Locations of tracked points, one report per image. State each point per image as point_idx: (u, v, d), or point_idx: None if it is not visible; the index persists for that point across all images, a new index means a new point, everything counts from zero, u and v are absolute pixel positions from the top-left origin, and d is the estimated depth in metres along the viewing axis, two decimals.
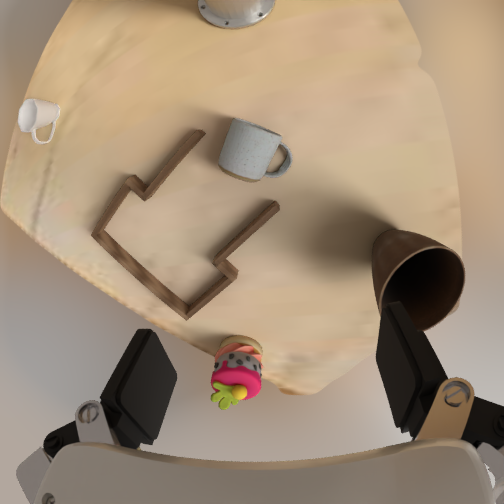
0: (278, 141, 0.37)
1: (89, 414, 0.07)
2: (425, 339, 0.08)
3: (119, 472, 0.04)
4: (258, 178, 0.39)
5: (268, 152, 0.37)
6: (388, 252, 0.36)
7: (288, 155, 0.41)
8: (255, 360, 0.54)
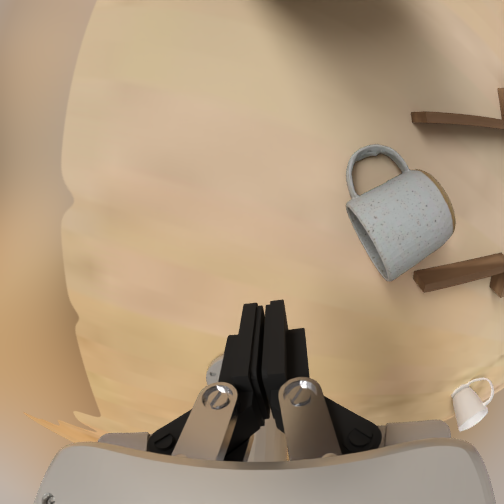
0: (364, 208, 0.20)
1: (216, 399, 0.07)
2: (302, 337, 0.10)
3: (119, 472, 0.04)
4: (427, 178, 0.18)
5: (392, 207, 0.19)
6: None
7: None
8: None
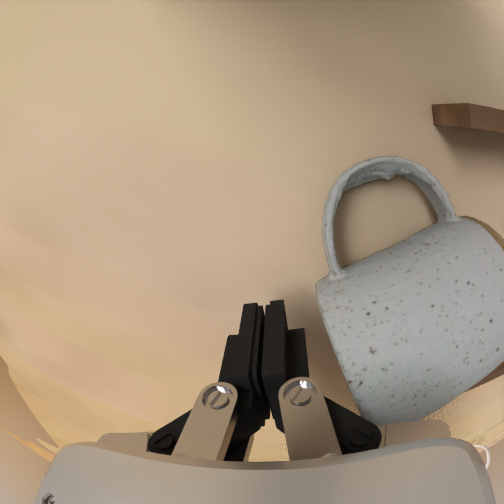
0: (349, 321, 0.08)
1: (216, 399, 0.07)
2: (302, 337, 0.10)
3: (119, 472, 0.04)
4: (497, 248, 0.07)
5: (417, 325, 0.07)
6: None
7: None
8: None
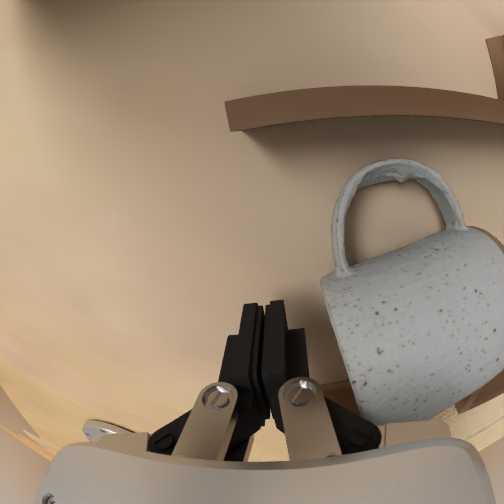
0: (357, 319, 0.08)
1: (216, 399, 0.07)
2: (302, 337, 0.10)
3: (119, 472, 0.04)
4: None
5: (425, 328, 0.07)
6: None
7: None
8: None
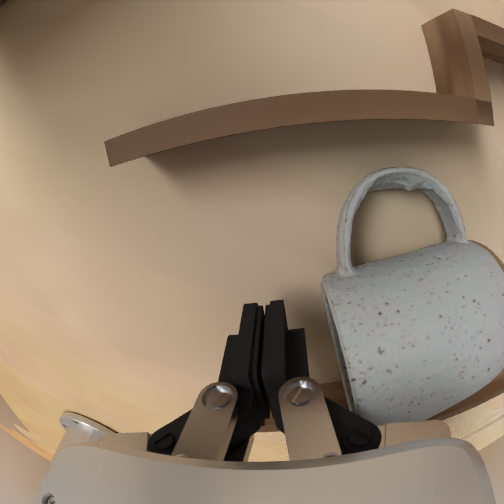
0: (360, 318, 0.08)
1: (216, 399, 0.07)
2: (302, 337, 0.10)
3: (119, 472, 0.04)
4: (502, 275, 0.07)
5: (425, 332, 0.07)
6: None
7: None
8: None
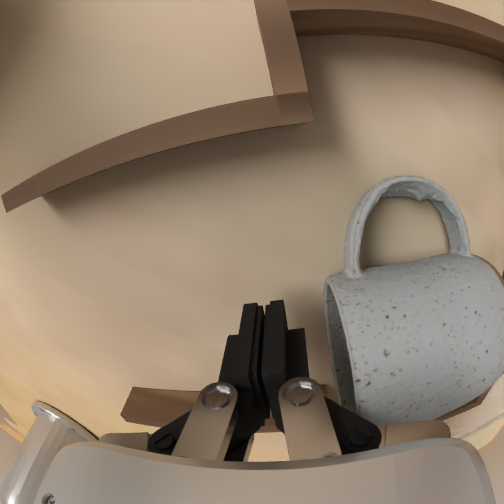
0: (368, 320, 0.08)
1: (216, 399, 0.07)
2: (302, 337, 0.10)
3: (119, 472, 0.04)
4: (502, 290, 0.07)
5: (429, 338, 0.07)
6: None
7: None
8: None
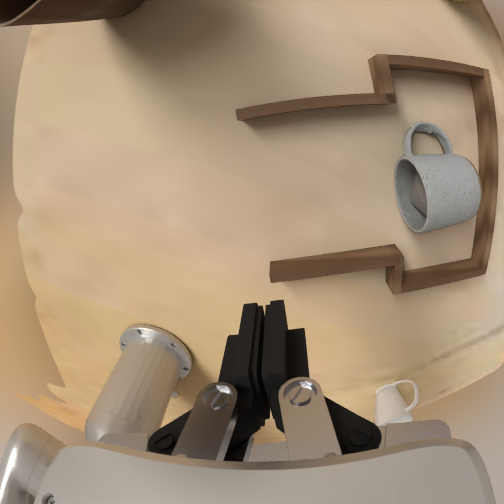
0: (420, 161, 0.21)
1: (216, 399, 0.07)
2: (302, 337, 0.10)
3: (119, 472, 0.04)
4: (468, 162, 0.20)
5: (442, 168, 0.20)
6: (80, 4, 0.11)
7: None
8: None
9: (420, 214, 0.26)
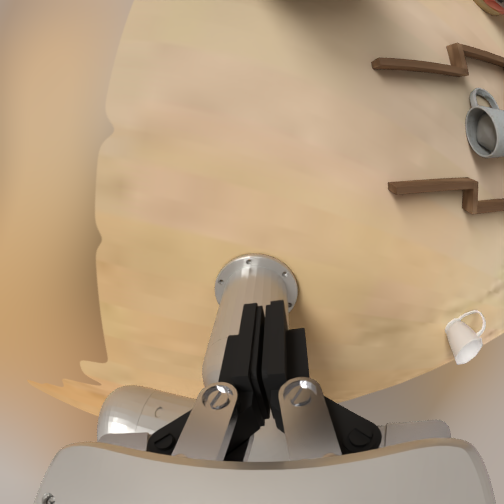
0: (487, 108, 0.23)
1: (216, 399, 0.07)
2: (302, 337, 0.10)
3: (119, 472, 0.04)
4: None
5: (499, 114, 0.22)
6: None
7: None
8: None
9: (484, 150, 0.28)
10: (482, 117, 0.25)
